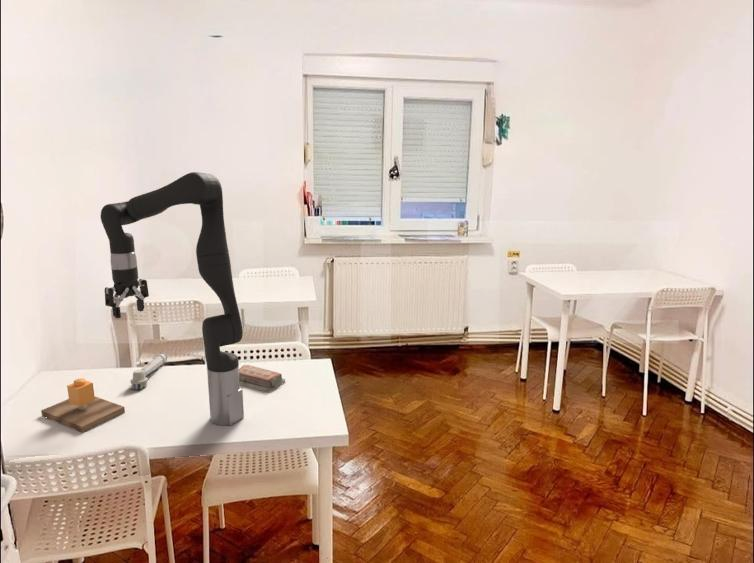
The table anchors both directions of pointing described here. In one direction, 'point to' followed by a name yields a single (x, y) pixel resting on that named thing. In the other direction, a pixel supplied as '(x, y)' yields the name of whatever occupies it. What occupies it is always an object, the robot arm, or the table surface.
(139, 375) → the gray handled tool
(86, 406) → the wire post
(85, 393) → the orange rounded block
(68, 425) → the board
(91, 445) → the table surface
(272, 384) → the packaged product
